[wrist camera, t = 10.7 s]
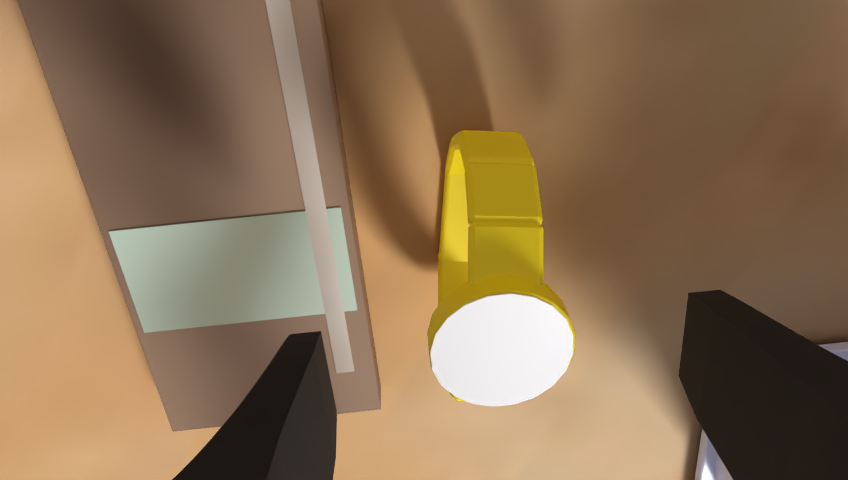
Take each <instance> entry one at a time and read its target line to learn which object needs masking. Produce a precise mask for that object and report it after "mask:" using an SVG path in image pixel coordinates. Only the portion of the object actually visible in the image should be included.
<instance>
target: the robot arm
mask: <svg viewBox="0 0 848 480" xmlns="http://www.w3.org/2000/svg"><path fill="white" fill-rule="evenodd" d="M679 377H680V380H681V382H682V385H683V387H684V390H685V392H686V394H687V397H688V399H689V402H690V404H691V406H692V408H693V411H694V413H695V415H696V417H697V420H698V422H699V423H700V425H701V427H702V434H701V440H700V447H699V454H698V460H697V467H696V474H695V480H848V342H841V343H832V344H823V345H817V344H815V343H813V342H811V341H810V340H808V339H806V338H804V337H803V336H801V335H799V334H797V333H795V332H794V331H792V330H790V329H788V328H787V327H785V326H783V325H782V324H780V323H778V322H776V321H775V320H773V319H771V318H769V317H768V316H766V315H764V314H763V313H761V312H759V311H757V310H756V309H754V308H752V307H751V306H749V305H747V304H745V303H744V302H742V301H740V300H738V299H736V298H735V297H733V296H731V295H729V294H727V293H725V292H723V291H721V290H714V291H704V292H695V293H689V294H688V302H687V311H686V319H685V328H684V336H683V345H682V353H681V361H680V370H679ZM336 425H337V410H336V405H335V400H334V395H333V389H332V384H331V379H330V374H329V369H328V364H327V359H326V354H325V349H324V344H323V339H322V333H321V331H316V332H306V333H297V334H290V335H289V336H288V337H287V338H286V339H285V341H284V342H283V344H282V345H281V347H280V348H279V350H278V351H277V353H276V354H275V356H274V357H273V359H272V360H271V362H270V363H269V365H268V366H267V367H266V369H265V370H264V372H263V373H262V375H261V376H260V377H259V379H258V380H257V382H256V383H255V384H254V386H253V387H252V388H251V390H250V391H249V392H248V394H247V395H246V397H245V398H244V399H243V401H242V402H241V403H240V405H239V406H238V407H237V408H236V410H235V411H234V412H233V414H232V415H231V416H230V417H229V418H228V420H227V421H226V422H225V423H224V424H223V426H222V427H221V428H220V429H219V430H218V432H217V433H216V434H215V435H214V436H213V438H212V439H211V440H210V441H209V442H208V443H207V444H206V446H205V447H204V448H203V449H202V450H201V451H200V452H199V453H198V454H197V455H196V456H195V457H194V459H193V460H192V461H191V462H190V463H189V464H188V465H187V466H186V467H185V468H184V469H183V470H182V471H181V472H180V473H179V474H178V475H177V476H176V477H175V478H174V479H172V480H333V473H334V466H335V459H336Z"/></svg>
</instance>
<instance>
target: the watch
mask: <svg viewBox="0 0 848 480" xmlns="http://www.w3.org/2000/svg"><path fill="white" fill-rule="evenodd" d="M534 164H535V162H534V160H533V158H532V155H531V153H530V151H529V149H528V146H527V144H526V142H525V140H524V138H523V137H522V135H521V134H519V133H518V132H501V131H471V130H462V131H460V132H458V133H457V134H455V135H454V136H453V137H452V139H451V141H450V145H449V150H448V154H447V158H446V163H445V178H444V192H443V206H442V219H441V233H440V247H439V253H438V257H437V258H439V261H438V307H437V308H436V310H435V311H434V312H433V314H432V317H431V321H430V324H429V328H428V333H427V335H428V345H429V354H430V362H431V367H432V370H433V372H434V374H435V375H436V377H437V379H438V380H439V382H440V384H441V385H442V386H443V387H444V388H445V389H447V390H448V391H449V393H450V394H451V395H452V397H453V398H454V399H455V400H456V401H467V402H470V403H472V404H477V405H485V406H493V407H495V406H504V405H513V404H517V403H520V402H523V401H526V400H529V399H531V398H534V397H536V396H538V395H540V394H541V393H543V392H544V391H546V390H547V389H549V388H550V387H552V386H553V385H554V384H555V383H556V382H557V380H558V379H559V378H560V377H561V376H562V375H563V374H564V372H565V371H566V370H567V369H568V367H569V364H570V362H571V359H572V357H573V355H574V352H575V330H574V328H573V325H572V323H571V320H570V318H569V316H568V313H567V311H566V308H565V306H564V303H563V301H562V300H561V298H560V297H559V296H558V295H557V294H556V293H555V292H554V291H553V290H552V289H551V288H550V287H549V286H548V285H546V284H544V283H543V242H544V228H543V227H542V226H541V223H542V221H543V216H542V208H541V201H540V193H539V186H538V179H537V171H536V168H535V167H534Z"/></svg>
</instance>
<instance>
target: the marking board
mask: <svg viewBox="0 0 848 480" xmlns="http://www.w3.org/2000/svg"><path fill="white" fill-rule="evenodd" d="M18 3H19V6H20V8H21V11H22V14H23V17H24V19H25V22H26V25H27V28H28V31H29V33H30V36H31V39H32V42H33V45H34V47H35V50H36V53H37V56H38V58H39V61H40V64H41V67H42V70H43V72H44V75H45V78H46V81H47V83H48V86H49V89H50V92H51V95H52V97H53V100H54V103H55V106H56V108H57V111H58V114H59V117H60V120H61V122H62V125H63V128H64V131H65V134H66V136H67V139H68V142H69V145H70V147H71V150H72V153H73V156H74V159H75V161H76V164H77V167H78V170H79V172H80V175H81V178H82V181H83V184H84V186H85V189H86V192H87V195H88V197H89V200H90V203H91V206H92V209H93V211H94V214H95V217H96V220H97V223H98V225H99V228H100V231H101V234H102V236H103V239H104V242H105V245H106V248H107V250H108V253H109V256H110V259H111V261H112V264H113V267H114V270H115V273H116V275H117V278H118V281H119V284H120V287H121V289H122V292H123V295H124V298H125V300H126V303H127V306H128V309H129V312H130V314H131V317H132V320H133V323H134V325H135V328H136V331H137V334H138V337H139V339H140V342H141V345H142V348H143V350H144V353H145V356H146V359H147V362H148V364H149V367H150V370H151V373H152V376H153V378H154V381H155V384H156V387H157V389H158V392H159V395H160V398H161V401H162V403H163V406H164V409H165V412H166V414H167V417H168V420H169V423H170V426H171V428H172V431H182V430H192V429H201V428H210V427H220V426H223V424H224V423H225V422H226V421H227V420H228V418H229V417H230V416H231V415H232V414H233V412H234V411H235V410H236V408H237V407H238V406H239V405H240V403H241V402H242V401H243V399H244V398H245V397H246V395H247V394H248V392H249V391H250V390H251V388H252V387H253V386H254V384H255V383H256V382H257V380H258V379H259V377H260V376H261V375H262V373H263V372H264V370H265V369H266V367H267V366H268V365H269V363H270V362H271V360H272V359H273V357H274V356H275V354H276V353H277V351H278V350H279V348H280V347H281V345H282V344H283V342H284V341H285V339H286V338H287V337H288V336H289V335H290V334H297V333H306V332H316V331H321V333H322V339H323V344H324V349H325V354H326V359H327V364H328V369H329V374H330V379H331V384H332V389H333V395H334V400H335V405H336V410H337V414H341V413H350V412H360V411H369V410H378V409H381V385H380V379H379V372H378V366H377V359H376V353H375V346H374V339H373V333H372V326H371V320H370V313H369V307H368V300H367V294H366V287H365V280H364V274H363V267H362V261H361V254H360V248H359V241H358V235H357V228H356V221H355V215H354V208H353V202H352V195H351V189H350V182H349V176H348V169H347V163H346V156H345V149H344V143H343V136H342V130H341V123H340V117H339V110H338V104H337V97H336V90H335V84H334V77H333V71H332V64H331V58H330V51H329V45H328V38H327V31H326V25H325V18H324V12H323V5H322V0H18Z"/></svg>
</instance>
